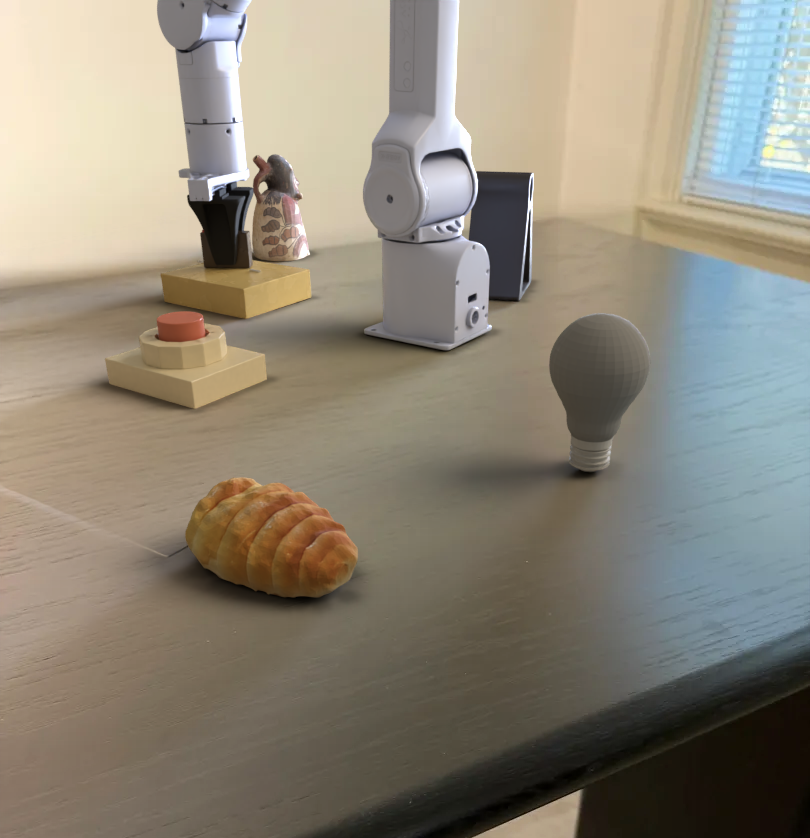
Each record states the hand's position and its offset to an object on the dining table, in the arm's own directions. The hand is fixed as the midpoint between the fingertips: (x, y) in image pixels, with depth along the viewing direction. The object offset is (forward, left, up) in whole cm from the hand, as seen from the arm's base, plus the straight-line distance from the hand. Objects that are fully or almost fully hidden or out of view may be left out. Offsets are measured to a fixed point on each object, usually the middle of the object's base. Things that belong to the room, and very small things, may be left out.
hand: (228, 262), depth 95 cm
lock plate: (-2, +1, -3) cm, 4 cm away
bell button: (-17, +22, 0) cm, 28 cm away
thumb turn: (0, 0, 0) cm, 0 cm away
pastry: (-42, +39, -4) cm, 57 cm away
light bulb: (-51, +19, -4) cm, 55 cm away
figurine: (+9, -18, -4) cm, 20 cm away
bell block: (-17, +22, -3) cm, 28 cm away
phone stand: (-23, -18, -4) cm, 29 cm away
